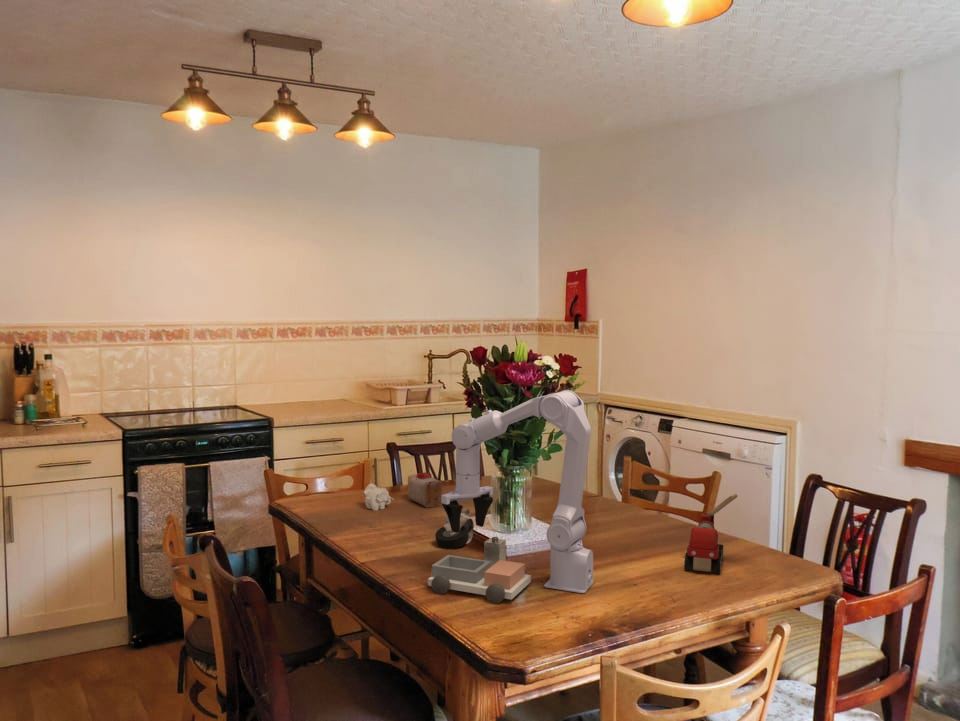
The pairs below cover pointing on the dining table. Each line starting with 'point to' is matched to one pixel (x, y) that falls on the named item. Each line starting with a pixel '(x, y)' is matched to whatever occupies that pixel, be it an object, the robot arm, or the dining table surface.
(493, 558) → the block
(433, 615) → the dining table surface
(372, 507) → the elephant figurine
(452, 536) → the caster wheel
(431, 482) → the food item
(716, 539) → the toy fire truck
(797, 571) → the dining table surface
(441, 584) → the chassis
